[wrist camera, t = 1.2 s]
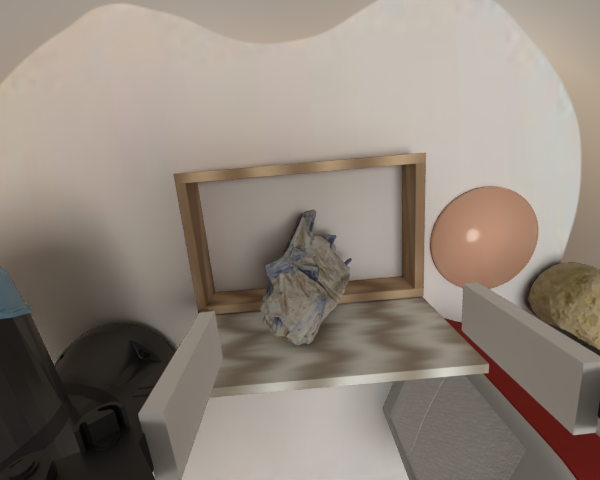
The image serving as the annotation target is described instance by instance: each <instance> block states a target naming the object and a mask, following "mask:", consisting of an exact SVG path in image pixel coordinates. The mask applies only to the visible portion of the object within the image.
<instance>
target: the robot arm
mask: <svg viewBox="0 0 600 480" xmlns="http://www.w3.org/2000/svg"><path fill="white" fill-rule="evenodd" d="M31 312H32V310H31V307H30V306H29V305H26V304H25V303H24V301H23V299H22V297H21V295H20V294H19V292H18V290H17V288H16V286H15V284H14V283H13V281H12V279H11V277H10V276H9V274H8V273H7V272H6V271H5V270H4V269H3V268H1V267H0V480H155V479H156V480H181V479H182V476H183V473H184V470H185V467H186V464H187V461H188V458H189V455H190V452H191V449H192V446H193V443H194V440H195V438H196V435H197V432H198V429H199V426H200V423H201V420H202V417H203V414H204V411H205V408H206V405H207V402H208V400H209V397H210V394H211V391H212V388H213V385H214V382H215V379H216V376H217V373H218V370H219V367H220V364H221V361H222V359H223V355H222V349H221V344H220V339H219V333H218V328H217V322H216V317H215V311H210V312H201V313H199V315H198V316H197V318H196V320H195V321H194V323H193V325H192V326H191V328H190V329H189V331H188V333H187V334H186V336H185V338H184V339H183V341H182V343H181V344H180V346H179V348H178V349H177V351H176V353H175V352H174V351H173V350H172V348H171V347H170V346H169V345H168V344H167V343H166V342H165V341H164V340H163V339H161V338H160V337H159V336H157V335H156V334H154V333H152V332H150V331H148V330H146V329H143V328H141V327H137V326H134V325H128V324H107V325H102V326H98V327H96V328H93V329H91V330H89V331H87V332H86V333H84V334H83V335H81V336H80V337H79V338H78V339H76V340H75V341H74V342H73V343H71V344H70V345H69V346H68V347H67V348H66V349H65V350H64V351H63V353H62V354H61V355H60V357H59V358H58V360H57V362H56V364H55V366H54V364H53V362H52V360H51V358H50V356H49V353H48V351H47V349H46V347H45V345H44V343H43V341H42V338H41V336H40V334H39V332H38V330H37V328H36V326H35V323H34V321H33V319H32V317H31V315H30V313H31ZM462 331H463V332H464V333H465V334H466V335H467V336H468V337H469V338H470V339H471V340H472V341H473V342H474V343H475V344H477V345H478V346H479V347H480V348H481V349H482V350H483V351H484V352H485V353H486V354H487V355H488V356H489V357H490V358H491V359H493V360H494V361H495V362H496V363H497V364H498V365H499V366H500V367H501V368H502V369H503V370H504V371H505V372H506V373H507V374H509V375H510V376H511V377H512V378H513V379H514V380H515V381H516V382H517V383H518V384H519V385H520V386H521V387H522V388H524V389H525V390H526V391H527V392H528V393H529V394H530V395H531V396H532V397H533V398H534V399H535V400H536V401H537V402H538V403H540V404H541V405H542V406H543V407H544V408H545V409H546V410H547V411H548V412H549V413H550V414H551V415H552V416H553V417H554V418H556V419H557V420H558V421H559V422H560V423H561V424H562V425H563V426H564V427H565V428H566V429H567V430H568V431H569V432H570V433H572V434H573V435H580V434H588V433H596V428H597V422H598V417H599V418H600V350H599V349H597V348H595V347H594V346H592V345H589V344H588V343H587V342H585V341H583V340H582V339H578V337H577V336H575V335H573V334H571V333H570V332H568V331H566V330H564V329H561V328H559V327H556V326H553V325H551V324H546V323H544V322H543V321H541V320H539V319H538V318H536V317H534V316H533V315H531V314H529V313H528V312H526V311H524V310H523V309H521V308H519V307H518V306H516V305H514V304H513V303H511V302H509V301H508V300H506V299H505V298H503V297H501V296H500V295H498V294H496V293H495V292H493V291H491V290H490V289H488V288H486V287H485V286H483V285H481V284H480V283H478V282H475V283H466V284H463V305H462ZM153 471H154V475H155V478H154V476H153V474H152V472H153Z"/></svg>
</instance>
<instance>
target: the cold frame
mask: <svg viewBox="0 0 600 480" xmlns="http://www.w3.org/2000/svg"><path fill="white" fill-rule="evenodd" d="M392 165H402V277H392V278H380V279H369V280H357V281H348V283H347V284H346V286H345V292H344V293H343V296H342V299H341V301H339V302H338V303H337V306H336V307H335V308H334V309H333V310H332V311H330V313H329V314H328V316H327V317H326V318H324V320H323V321H322V323H321V324H320V327H319V329H318V332H317V334H316V335H315V337H314V339H313V341H312V342H311V343H309V344H307V343H303V344H301V345H299V346H298V345H296V344H294V343H292V342H291V341H287V340H285V339H283V338H282V337H276V336H275V335H273V334H272V332H271V331H270V330H269V326H268V325H267V324H266V323H264V322H263V318H264V314H263V313H262V312H261V309H260V308H261V306H262V304H263V303H264V301H263V297H264V295H265V293H266V290H267V288H264V289H253V290H241V291H229V292H218V293H215V290H214V283H213V277H212V271H211V265H210V259H209V252H208V246H207V240H206V234H205V228H204V222H203V215H202V209H201V203H200V197H199V191H198V184H197V182H204V181H216V180H228V179H239V178H251V177H263V176H275V175H286V174H298V173H310V172H322V171H334V170H345V169H357V168H369V167H381V166H392ZM425 172H426V153H416V154H404V155H392V156H381V157H369V158H357V159H345V160H334V161H322V162H310V163H298V164H286V165H275V166H263V167H251V168H239V169H227V170H216V171H204V172H192V173H180V174H174V179H175V185H176V190H177V196H178V201H179V207H180V213H181V218H182V224H183V229H184V235H185V241H186V246H187V252H188V257H189V263H190V269H191V274H192V280H193V285H194V291H195V296H196V302H197V308H198V313H201V312H210V311H215V317H216V322H217V328H218V333H219V339H220V344H221V349H222V355H223V359H222V361H221V364H220V367H219V370H218V373H217V376H216V379H215V382H214V385H213V388H212V391H211V394H210V397H219V396H231V395H242V394H254V393H265V392H277V391H288V390H300V389H311V388H322V387H334V386H345V385H357V384H368V383H380V382H391V381H403V380H414V379H426V378H437V377H449V376H460V375H472V374H483V373H489V363H488V362H487V361H486V360H485V359H484V358H483V357H482V356H481V355H480V354H479V353H478V352H477V351H476V350H475V349H474V348H473V347H472V346H471V345H470V344H469V343H468V342H467V341H466V340H465V339H464V338H463V337H462V336H461V335H460V334H459V333H458V332H457V331H456V330H455V329H454V328H453V327H452V326H451V325H450V324H449V323H448V322H447V321H446V320H445V319H444V318H443V317H442V316H441V315H440V314H439V313H438V312H437V311H436V310H435V309H434V308H433V307H432V306H431V305H430V304H429V303H428V302H427V301H426V300H425V299H424V298H423V297H422V296H423V289H424V231H425ZM181 343H182V342H181ZM179 346H180V345H179ZM178 348H179V347H178ZM176 351H177V350H176ZM175 353H176V352H175Z"/></svg>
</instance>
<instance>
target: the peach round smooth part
mask: <svg viewBox="0 0 600 480" xmlns="http://www.w3.org/2000/svg"><path fill="white" fill-rule="evenodd" d="M537 239H538V222H537V218H536V215H535V213H534V210H533V209H532V207H531V205H530V204H529V203H528V202H527V200H526V199H524V198H523V197H522V196H521V195H519V194H518V193H516V192H514V191H512V190H509V189H505V188H500V187H482V188H477V189H473V190H470V191H468V192H466V193H464V194H462V195H460V196H458V197H457V198H456V199H454V200H453V201H452V202H451V203H450V204H449V205H447V206H446V208H445V209H444V210H443V211H442V213H441V214H440V216H439V217H438V219H437V221H436V223H435V225H434V228H433V231H432V235H431V243H430V245H431V255H432V259H433V261H434V264H435V266H436V268H437V269H438V271H439V272H440V273H441V274H442V275H443V276H444V277H445V278H446V279H447V280H449V281H450V282H451V283H453V284H455V285H457V286H459V287H462V288H463V284H466V283H475V282H478V283H480V284H481V285H483V286H485V287H486V288H488V289H490V288H494V287H497V286H499V285H502V284H504V283H506V282H508V281H509V280H511V279H512V278H514V277H515V276H516V275H517V274H518V273H519V272H520V271H521V270H522V269H523V268H524V267H525V266H526V264H527V263H528V262H529V260H530V258H531V257H532V255H533V252H534V250H535V247H536V244H537Z"/></svg>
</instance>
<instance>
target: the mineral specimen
mask: <svg viewBox="0 0 600 480" xmlns="http://www.w3.org/2000/svg"><path fill="white" fill-rule="evenodd" d="M315 216H316V211H314V210H311V211H310V212H309V211H306V212H305V213H303V214H301V216H300V217H299V219H298V222H297V224H296V226H295V228H294V230H293V233H292V235H291V237H290V240H289V242H288V244H287V246H286V249H285V251H284V253H283V255H282V257H281V258H280V259H279V260H276V261H274V262H272V263H269V264H267V265H265V268H266V272H267V275H268V277H269V279H270V280H269V286H268V288H267V290H266V293H265V295H264V297H263V301H264V303H263V304H262V306H261V308H260V309H261V312H262V313H263V314H264V318H263V322H264V323H266V324H267V325H268V326H269V330H270V331H271V332H272V334H273V335H275V336H276V337H282V338H283V339H285V340H287V341H291V342H292V343H294V344H296V345H298V346H299V345H301V344H303V343H307V344H309V343H311V342H312V341H313V339H314V337H315V335H316V334H317V332H318V329H319V327H320V324H321V323H322V321H323V320H324V318H326V317H327V316H328V314H329V313H330V311H332V310H333V309H334V308H335V307H336V306H337V303H338V302H339V301H341V299H342V296H343V293H344V292H345V286H346V284H347V283H348V280H349V276H350V274H349V272H348V271H349V267H348V266H347V265H348V264H349V263H350V261H351V260H352V259H351V258H349V259H347V260H346V261H345V262H343V260H341V259H339V257H337V256H336V255H335V254H334V251H335V245H334V244H333V242H334V240H335V238H336V235H326V236H324V238H322V237H321V236H318V235H315V236H313V233H312V228H313V224H314V219H315Z"/></svg>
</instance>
